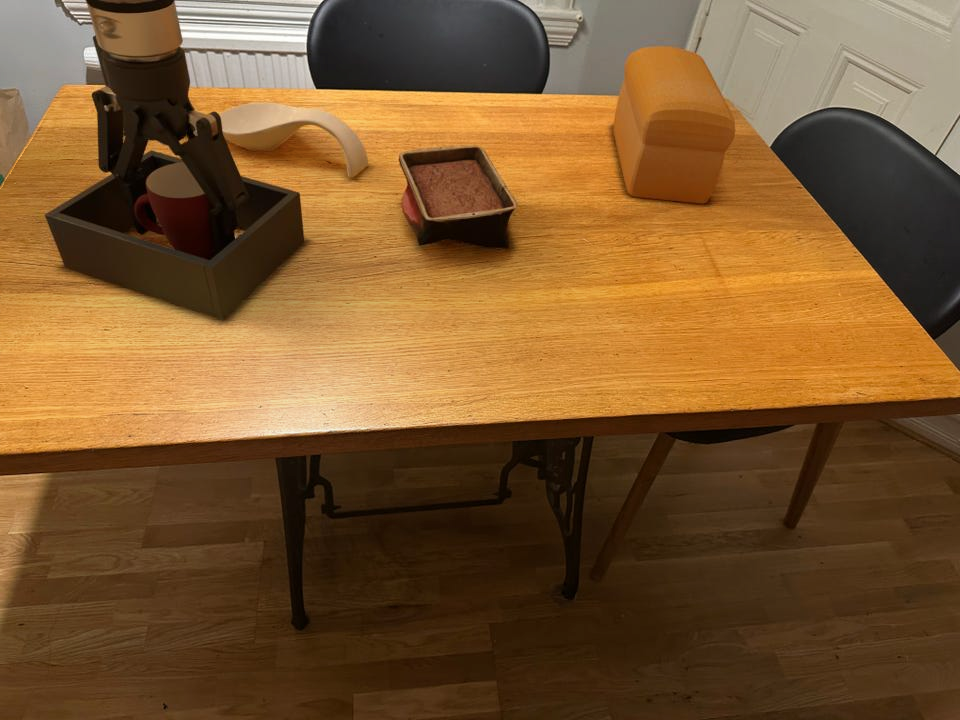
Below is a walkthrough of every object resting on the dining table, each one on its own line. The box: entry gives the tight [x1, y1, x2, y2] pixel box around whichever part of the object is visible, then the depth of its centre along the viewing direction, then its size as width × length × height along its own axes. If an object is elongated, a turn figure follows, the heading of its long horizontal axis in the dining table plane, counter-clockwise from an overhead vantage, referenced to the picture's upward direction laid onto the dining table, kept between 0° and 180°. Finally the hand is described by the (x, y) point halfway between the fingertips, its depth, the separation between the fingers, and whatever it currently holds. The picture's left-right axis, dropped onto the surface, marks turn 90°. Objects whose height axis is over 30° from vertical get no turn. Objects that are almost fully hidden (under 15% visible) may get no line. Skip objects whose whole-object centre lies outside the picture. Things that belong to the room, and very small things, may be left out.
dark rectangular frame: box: [44, 149, 305, 321], centre depth 81 cm, size 21×17×7 cm
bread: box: [613, 45, 736, 204], centre depth 107 cm, size 24×13×15 cm, turn 178°
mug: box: [134, 162, 222, 261], centre depth 80 cm, size 11×8×10 cm
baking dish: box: [398, 144, 519, 249], centre depth 91 cm, size 14×18×10 cm
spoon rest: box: [218, 101, 369, 178], centre depth 101 cm, size 24×12×7 cm, turn 67°
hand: (187, 241), depth 82 cm, fingers closed on mug, 10 cm apart
